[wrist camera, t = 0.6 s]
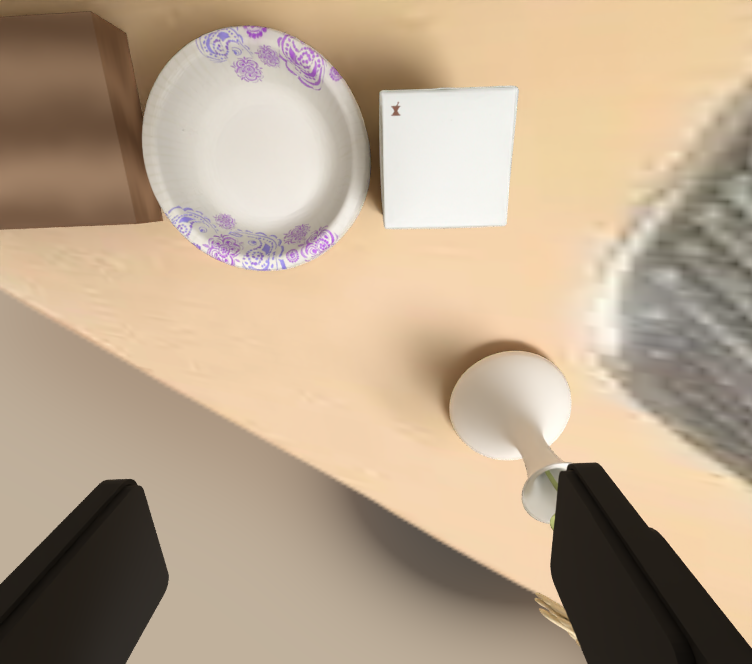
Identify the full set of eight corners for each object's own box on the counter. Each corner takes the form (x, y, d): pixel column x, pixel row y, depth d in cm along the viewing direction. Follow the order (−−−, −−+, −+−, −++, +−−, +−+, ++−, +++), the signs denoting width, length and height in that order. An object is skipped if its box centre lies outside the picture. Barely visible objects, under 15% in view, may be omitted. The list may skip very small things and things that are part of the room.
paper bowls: (352, 41, 32) (341, -7, 24) (387, 240, 36) (387, 252, 29) (166, 84, 33) (100, 51, 25) (222, 271, 38) (181, 290, 30)
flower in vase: (429, 371, 40) (489, 626, 16) (543, 325, 38) (796, 539, 15) (475, 474, 44) (579, 807, 20) (582, 438, 42) (833, 754, 18)
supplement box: (381, 218, 36) (378, 230, 24) (381, 123, 33) (377, 84, 21) (467, 217, 36) (508, 229, 24) (473, 121, 33) (521, 80, 21)
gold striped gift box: (-73, 45, 32) (-139, 23, 28) (125, 33, 32) (87, 9, 28) (-13, 228, 37) (-63, 232, 33) (162, 220, 36) (134, 223, 32)
